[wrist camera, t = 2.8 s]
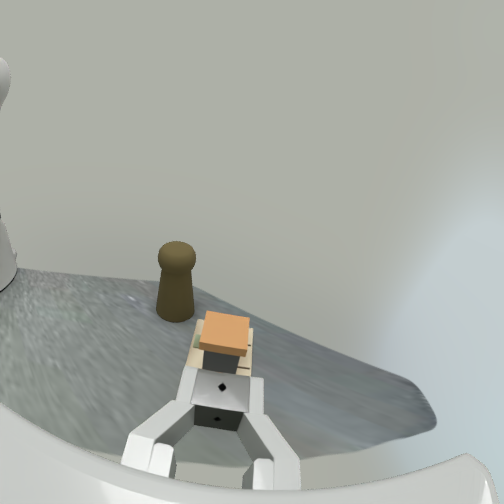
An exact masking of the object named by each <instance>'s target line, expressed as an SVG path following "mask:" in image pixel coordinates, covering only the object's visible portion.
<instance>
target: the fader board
mask: <svg viewBox="0 0 504 504" xmlns="http://www.w3.org/2000/svg"><path fill="white" fill-rule="evenodd" d="M204 321H205V320H201V319H198V321H197V324H196V328H195V332H194V336H193V339H192V343H191V347H190V351H189V354H188V358H187V362H186V366H190V367H196V368H200V369H202V364H203V354H204V350H200V349H199V341H200V337H201V333H202V329H203V325H204ZM252 341H253V328H249V333H248V349H247V353H246V357H241V356H240V359H239V363H238V367H237V371H236V374H237V375H244V376H249V377H251V362H252Z"/></svg>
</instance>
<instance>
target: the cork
mask: <svg viewBox="0 0 504 504" xmlns="http://www.w3.org/2000/svg"><path fill="white" fill-rule="evenodd" d="M158 262H159V265H160V267H161V268H162V271H161V277H160V284H159V291H158V298H157V306H156V311H157V314H158V315H159V316H160V317H161V318H162V319H164V320H166V321H170V322H183V321H186V320H188V319H190V318H191V317H192V316H193V314H194V299H193V288H192V276H191V270H192V269H193V267H194V265H195V262H196V254H195V251H194V250H193V248H192V247H191V246H190V245H189V244H187V243H184V242H180V241H179V242H178V241H173V242H169V243H166V244H164V245H163V246H162V247H161V249H160V250H159V254H158Z"/></svg>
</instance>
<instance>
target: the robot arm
mask: <svg viewBox="0 0 504 504" xmlns="http://www.w3.org/2000/svg"><path fill="white" fill-rule="evenodd" d="M10 78H11V77H10V70H9V67H8V65H7V63H6V62H5V61H4V59H2V58H1V57H0V109H1V106H2V104H3V102H4V100H5V98H6V96H7V94H8V91H9V87H10ZM0 218H1V215H0ZM16 256H17V253H16V250H15V249H13V248H12V247H11V243H10V240H9V237H8V233H7V230H6V227H5V223H4V222H3V221H2V220H0V291H1V290H2V289H3V288H5V287H6V286H7V285H8V284H9V283H10V282H11V280H12V279H13V278H14V276H15V274H16V271H17V264H16V261H15V259H16ZM194 425H197V426H204V427H211V428H217V429H223V430H229V431H236V432H237V434H238V436H239V438H240V440H241V442H242V443H243V445H244V447H245V449H246V451H247V452H248V454H249V456H250V458H251V459H252V461H253V464H252V465H251V466H250V467H249V469H248V470H247V471H246V472H245V474H244V475H243V482H242V489H239V488H228V487H220V486H212V485H205V484H198V483H193V482H188V481H182V480H178V479H174V477H175V472H176V460H175V455H174V449H173V448H172V447H173V446H174V445H175V444H176V443H177V442H178V441H179V440H180V439H181V438H183V437H184V436H185V434H186V433H187V432H188V431H189V430H190V429H191V428H192V427H193V426H194ZM0 504H499V500H498V496H497V492H496V489H495V485H494V482H493V479H492V477H491V474H490V472H489V470H488V469H487V468H486V466H485V465H484V464H482V463H481V462H480V461H479V460H477V459H476V458H475V457H473V456H472V455H470V454H467V453H465V454H461V455H459V456H456V457H454V458H452V459H449V460H447V461H444V462H441V463H438V464H436V465H432V466H429V467H426V468H423V469H420V470H417V471H413V472H410V473H406V474H403V475H399V476H395V477H391V478H386V479H382V480H377V481H372V482H367V483H361V484H355V485H348V486H341V487H333V488H321V489H307V490H301V479H300V459H299V458H298V456H297V455H296V454H295V452H294V451H293V450H292V448H291V447H290V446H289V444H288V443H287V442H286V440H285V439H284V438H283V436H282V435H281V434H280V432H279V431H278V429H277V428H276V427H275V425H274V424H273V422H272V421H271V419H270V418H269V417H268V415H264V380H263V378H258V377H249V376H244V375H237V374H229V373H221V372H215V371H210V370H205V369H200V368H196V367H190V366H186V365H185V367H184V369H183V373H182V377H181V381H180V385H179V389H178V393H177V397H176V401H174V400H171V401H170V402H169V403H167V404H166V405H165V406H164V407H162V408H161V409H160V410H159V411H157V412H156V413H155V414H154V415H152V416H151V417H150V418H149V419H147V420H146V421H145V422H144V423H142V424H141V425H140V426H138V427H137V428H136V429H134V430H133V431H132V432H130V433H129V437H128V440H127V443H126V446H125V450H124V453H123V457H122V460H121V463H117V462H114V461H111V460H108V459H106V458H103V457H101V456H98V455H96V454H93V453H91V452H88V451H86V450H84V449H82V448H79V447H77V446H75V445H73V444H71V443H69V442H66V441H64V440H62V439H60V438H58V437H57V436H55V435H53V434H51V433H49V432H47V431H45V430H44V429H42V428H40V427H38V426H37V425H35V424H33V423H31V422H30V421H28V420H27V419H25V418H23V417H22V416H20V415H19V414H17V413H16V412H14V411H13V410H11V409H10V408H8V407H7V406H5V405H4V404H3V403H1V402H0Z"/></svg>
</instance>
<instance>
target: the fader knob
mask: <svg viewBox="0 0 504 504" xmlns="http://www.w3.org/2000/svg"><path fill="white" fill-rule="evenodd" d="M248 333H249V318H247V317H240V316H234V315H229V314H223V313H217V312H212V311H207V313H206V317H205V321H204V325H203V329H202V333H201V337H200V341H199V349H200V350H204V354H203V364H202V369H205V370H210V371H215V372H221V373H229V374H236V371H237V367H238V363H239V359H240V356H241V357H246V353H247V349H248Z"/></svg>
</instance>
